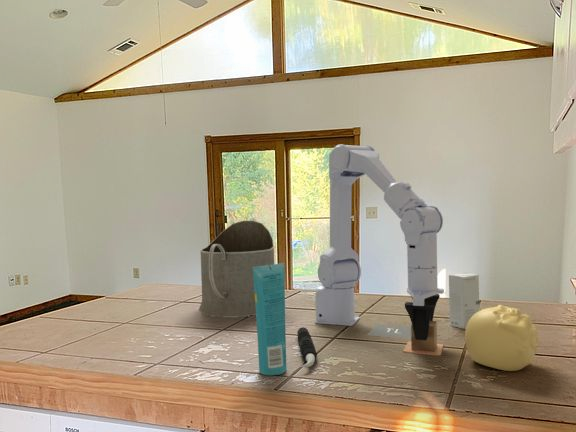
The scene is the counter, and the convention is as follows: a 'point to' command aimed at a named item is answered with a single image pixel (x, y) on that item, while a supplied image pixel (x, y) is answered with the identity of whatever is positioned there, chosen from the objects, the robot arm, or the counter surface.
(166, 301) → the counter surface
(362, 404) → the counter surface
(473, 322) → the sculpture
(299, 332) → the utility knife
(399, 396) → the counter surface
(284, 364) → the tube
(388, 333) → the tile
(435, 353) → the pad
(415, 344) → the walnut block
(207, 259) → the grey fabric basket
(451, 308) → the skincare box
